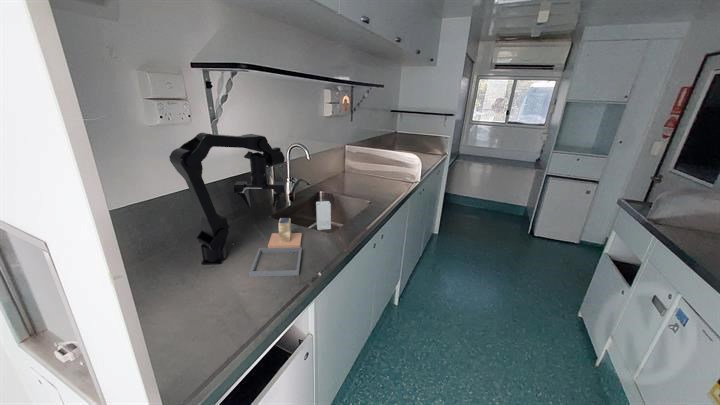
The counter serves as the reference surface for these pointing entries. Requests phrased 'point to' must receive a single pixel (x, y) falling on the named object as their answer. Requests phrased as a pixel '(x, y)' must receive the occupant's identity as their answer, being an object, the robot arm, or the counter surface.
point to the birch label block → (284, 229)
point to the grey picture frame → (275, 273)
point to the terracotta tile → (293, 242)
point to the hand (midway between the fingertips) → (262, 207)
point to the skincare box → (323, 215)
